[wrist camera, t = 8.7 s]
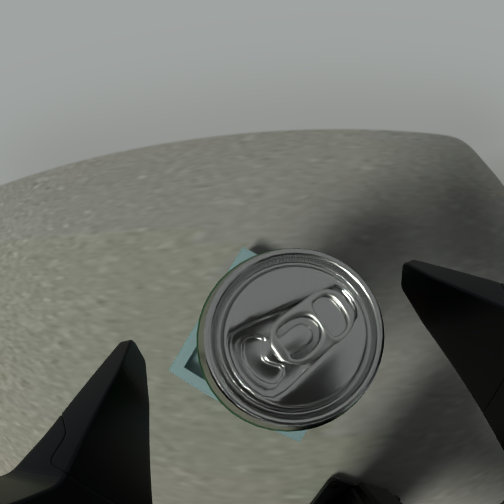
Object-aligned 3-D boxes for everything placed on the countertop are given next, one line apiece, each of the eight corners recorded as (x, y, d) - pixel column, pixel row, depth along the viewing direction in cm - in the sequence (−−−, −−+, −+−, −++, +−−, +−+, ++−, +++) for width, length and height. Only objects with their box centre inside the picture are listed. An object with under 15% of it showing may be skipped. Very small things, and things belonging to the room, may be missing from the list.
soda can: (216, 337, 18) (149, 303, 7) (284, 293, 19) (319, 198, 8) (261, 404, 17) (264, 479, 5) (329, 358, 18) (432, 354, 6)
